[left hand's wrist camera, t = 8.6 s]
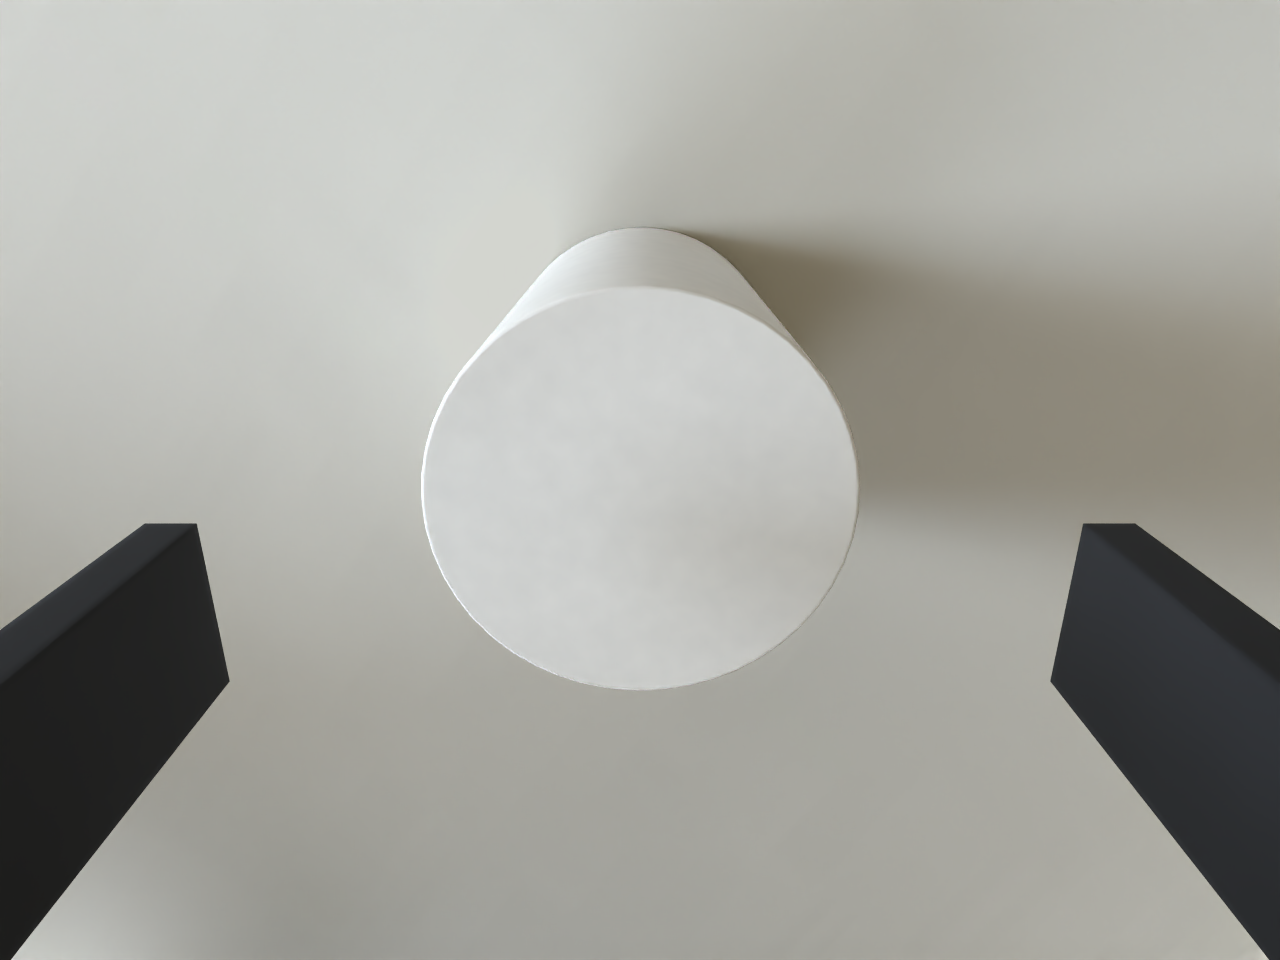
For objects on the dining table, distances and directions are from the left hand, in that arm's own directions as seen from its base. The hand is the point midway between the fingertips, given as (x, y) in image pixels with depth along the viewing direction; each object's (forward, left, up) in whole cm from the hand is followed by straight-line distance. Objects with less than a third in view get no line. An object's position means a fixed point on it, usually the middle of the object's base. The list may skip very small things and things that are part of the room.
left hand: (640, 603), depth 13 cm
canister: (0, 0, -16) cm, 16 cm away
